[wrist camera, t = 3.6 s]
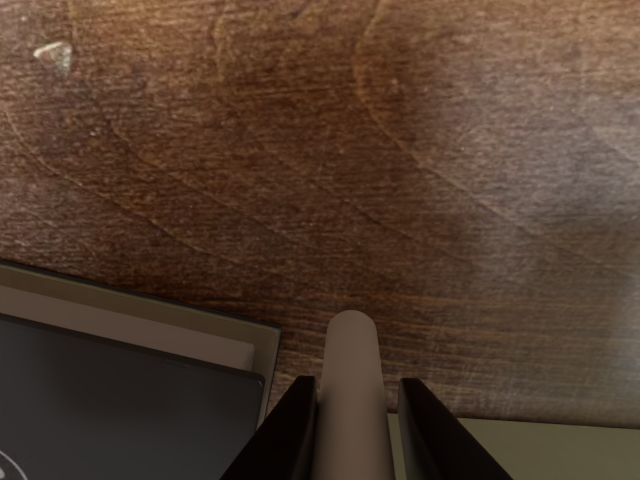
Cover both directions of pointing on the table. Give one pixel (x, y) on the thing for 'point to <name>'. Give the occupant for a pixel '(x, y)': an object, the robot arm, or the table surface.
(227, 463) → the book
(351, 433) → the door
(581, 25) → the table surface
